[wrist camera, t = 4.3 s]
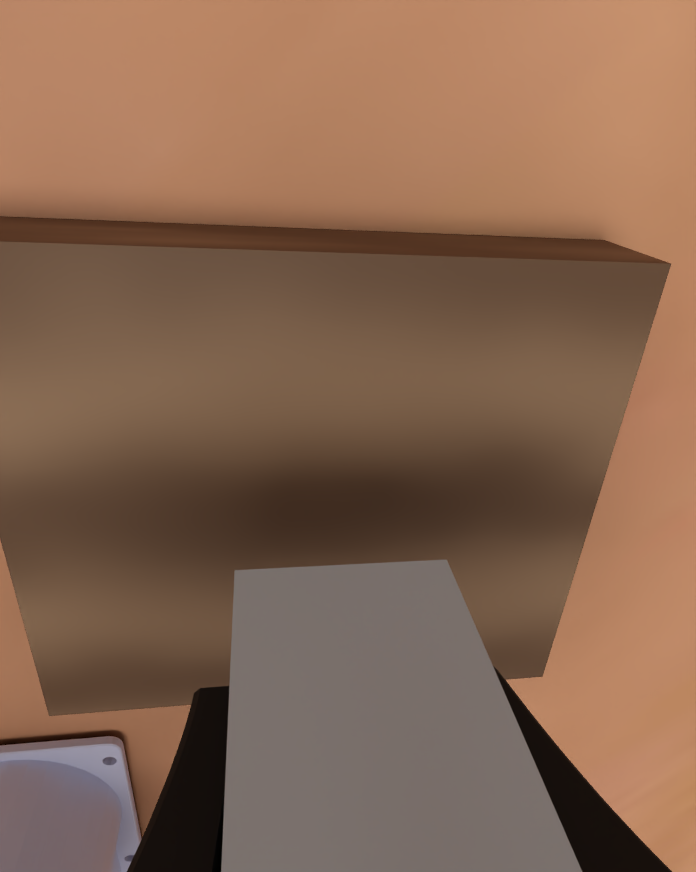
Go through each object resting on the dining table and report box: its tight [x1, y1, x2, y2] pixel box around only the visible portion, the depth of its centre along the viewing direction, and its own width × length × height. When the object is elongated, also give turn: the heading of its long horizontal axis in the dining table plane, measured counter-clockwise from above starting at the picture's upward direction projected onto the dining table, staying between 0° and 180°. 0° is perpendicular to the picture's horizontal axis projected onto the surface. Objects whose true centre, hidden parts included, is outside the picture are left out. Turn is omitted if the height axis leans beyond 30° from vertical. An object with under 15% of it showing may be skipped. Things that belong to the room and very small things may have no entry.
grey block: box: [221, 559, 582, 872], centre depth 9 cm, size 4×4×6 cm
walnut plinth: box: [0, 217, 671, 716], centre depth 17 cm, size 14×16×3 cm
